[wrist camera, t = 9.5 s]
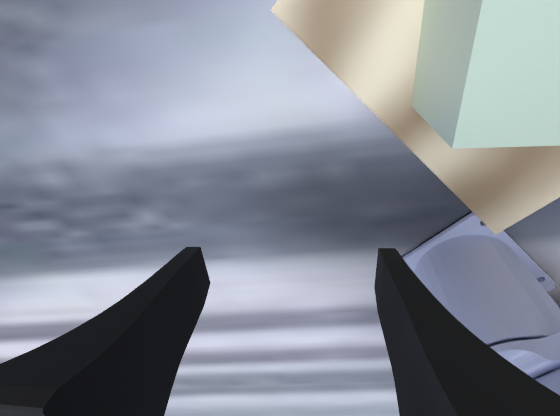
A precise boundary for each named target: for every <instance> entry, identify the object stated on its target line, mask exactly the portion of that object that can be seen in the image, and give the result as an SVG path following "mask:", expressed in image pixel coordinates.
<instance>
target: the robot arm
mask: <svg viewBox="0 0 560 416" xmlns="http://www.w3.org/2000/svg"><path fill="white" fill-rule="evenodd" d="M480 222H481V220H480V219H479V218H478V217H477V216H476V215H475V214H474V213H473V212H472V213H470V214H469V215H467V216H466V217H464V218H462V219H461V220H459V221H458V222H456V223H455V224H453V225H452V226H450V227H449V228H447V229H445V230H444V231H442V232H441V233H439V234H438V235H436V236H435V237H433V238H432V239H430V240H428V241H427V242H425V243H424V244H422V245H421V246H419V247H418V248H416V249H415V250H413V251H411V252H410V253H408V254H407V255H405V256H404V257H402V256H401V255H400V254H399V252H398V251H397V250H396V249H391V248H378V258H377V268H376V278H375V294H376V302H377V309H378V314H379V319H380V323H381V327H382V331H383V335H384V338H385V342H386V346H387V350H388V354H389V358H390V362H391V366H392V371H393V376H394V381H395V387H396V394H397V400H398V407H399V413H400V416H560V308H559V307H558V305H557V304H556V303H555V302H554V300H553V299H552V298H551V297H550V295H549V294H548V293H547V292H549V291H551V290H553V289H554V288H555V287H556V284H555V282H554V281H553V280H552V279H551V278H550V277H549V276H548V275H547V274H546V273H545V272H544V271H543V270H542V269H541V268H540V267H539V266H538V265H537V264H536V263H535V262H534V261H533V260H532V259H531V258H530V257H529V256H528V255H527V254H526V253H525V252H524V251H523V250H522V248H521V247H520V246H519V245H518V244H517V243H516V242H515V241H514V240H513V239H512V238H511V237H510V236H509V235H508V234H507V233H506V232H505V231H504V230H503V231H501V232H500V233H498V234H496V235H495V234H494V233H493V232H492V231H491V230H490V229H489V228H488V227H487V226H486V225H485V224H484V223H480ZM539 277H540V278H539ZM209 286H210V280H209V277H208V273H207V269H206V266H205V262H204V258H203V255H202V251H201V247H186V248H185V249H183V250H182V251H181V252H180V253H178V254H177V255H176V256H175V257H174V258H173V259H171V260H170V261H169V262H168V263H167V264H166V265H164V266H163V267H162V268H161V269H160V270H158V271H157V272H156V273H155V274H154V275H152V276H151V277H150V278H149V279H148V280H146V281H145V282H144V283H142V284H141V285H140V286H139V287H137V288H136V289H135V290H133V291H132V292H131V293H129V294H128V295H127V296H125V297H124V298H123V299H121V300H120V301H118V302H117V303H116V304H114V305H113V306H111V307H109V308H108V309H106V310H105V311H103V312H102V313H100V314H99V315H97V316H95V317H94V318H92V319H90V320H89V321H87V322H85V323H83V324H82V325H80V326H78V327H76V328H75V329H73V330H71V331H69V332H68V333H66V334H64V335H62V336H60V337H58V338H56V339H54V340H52V341H50V342H48V343H46V344H44V345H42V346H40V347H38V348H36V349H33V350H31V351H29V352H27V353H24V354H22V355H20V356H18V357H15V358H13V359H11V360H8V361H6V362H4V363H1V364H0V416H164V414H165V410H166V407H167V403H168V400H169V396H170V393H171V389H172V386H173V383H174V380H175V377H176V374H177V370H178V367H179V364H180V362H181V359H182V356H183V354H184V351H185V349H186V347H187V344H188V342H189V340H190V337H191V335H192V333H193V330H194V328H195V326H196V323H197V321H198V319H199V316H200V314H201V312H202V309H203V307H204V304H205V300H206V297H207V293H208V289H209Z"/></svg>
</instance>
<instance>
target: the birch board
mask: <svg viewBox="0 0 560 416" xmlns="http://www.w3.org/2000/svg"><path fill="white" fill-rule="evenodd" d="M423 8H424V0H277V2H276V3H275V5H274V6H273V8H272V9H271V11H272V12H273V13H274V14H275V15H276V16H277V17H278V18H279V19H280V20H281V21H282V22H283V23H284V24H285V25H286V26H287V27H288V28H289V29H290V30H291V31H292V32H293V33H294V34H295V35H296V36H297V37H298V38H299V39H300V40H301V41H302V42H303V43H304V44H305V45H306V46H307V47H308V48H309V49H310V50H311V51H312V52H313V53H314V54H315V55H316V56H317V57H318V58H319V59H320V60H321V61H322V62H323V63H324V64H325V65H326V66H327V67H328V68H329V69H330V70H331V71H332V72H333V73H334V74H335V75H336V76H337V77H338V78H339V79H340V80H341V81H342V82H343V83H344V84H345V85H346V86H347V87H348V88H349V89H350V90H351V91H352V92H353V93H354V94H355V95H356V96H357V97H358V98H359V99H360V100H361V101H362V102H363V103H364V104H365V105H366V106H367V107H368V108H369V109H370V110H371V111H372V112H373V113H374V114H375V115H376V116H377V117H378V118H379V119H380V120H381V121H382V122H383V123H384V124H385V125H386V126H387V127H388V128H389V129H390V130H391V131H392V132H393V133H394V134H395V135H396V136H397V137H398V138H399V139H400V140H401V141H402V142H403V143H404V144H405V145H406V146H407V147H408V148H409V149H410V150H411V151H412V152H413V153H414V154H415V155H416V156H417V157H418V158H419V159H420V160H421V161H422V162H423V163H424V164H425V165H426V166H427V167H428V168H429V169H430V170H431V171H432V172H433V173H434V174H435V175H436V176H437V177H438V178H439V179H440V180H441V181H442V182H443V183H444V184H445V185H446V186H447V187H448V188H449V189H450V190H451V191H452V192H453V193H454V194H455V195H456V196H457V197H458V198H459V199H460V200H461V201H462V202H463V203H464V204H465V205H466V206H467V207H468V208H469V209H470V210H471V211H472V212H473V213H474V214H475V215H476V216H477V217H478V218H479V219H480V220H481V221H482V222H483V223H484V224H485V225H486V226H487V227H488V228H489V229H490V230H491V231H492V232H493V233H494V234H495V235H496V234H498V233H500V232H501V231H503V230H505V229H506V228H508V227H510V226H512V225H513V224H515V223H517V222H518V221H520V220H522V219H523V218H525V217H527V216H529V215H530V214H532V213H534V212H535V211H537V210H539V209H540V208H542V207H544V206H546V205H547V204H549V203H551V202H552V201H554V200H556V199H557V198H559V197H560V146H528V147H494V148H460V149H452V148H451V147H450V146H449V145H448V144H447V143H446V142H445V141H444V140H443V139H442V138H441V137H440V136H439V135H438V133H437V132H436V131H435V130H434V129H433V128H432V127H431V126H430V125H429V124H428V123H427V122H426V121H425V120H424V119H423V118H422V117H421V116H420V115H419V114H418V113H417V112H416V110H415V109H414V108H413V107H412V106H411V103H412V95H413V87H414V79H415V71H416V63H417V55H418V48H419V40H420V32H421V24H422V16H423Z"/></svg>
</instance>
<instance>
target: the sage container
mask: <svg viewBox="0 0 560 416" xmlns="http://www.w3.org/2000/svg"><path fill="white" fill-rule="evenodd" d="M411 106H412V107H413V108H414V109H415V110H416V112H417V113H418V114H419V115H420V116H421V117H422V118H423V119H424V120H425V121H426V122H427V123H428V124H429V125H430V126H431V127H432V128H433V129H434V130H435V131H436V132H437V133H438V135H439V136H440V137H441V138H442V139H443V140H444V141H445V142H446V143H447V144H448V145H449V146H450V147H451V148H452V149H460V148H494V147H528V146H560V0H424V8H423V16H422V24H421V32H420V40H419V48H418V55H417V63H416V71H415V79H414V87H413V95H412V103H411Z"/></svg>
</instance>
